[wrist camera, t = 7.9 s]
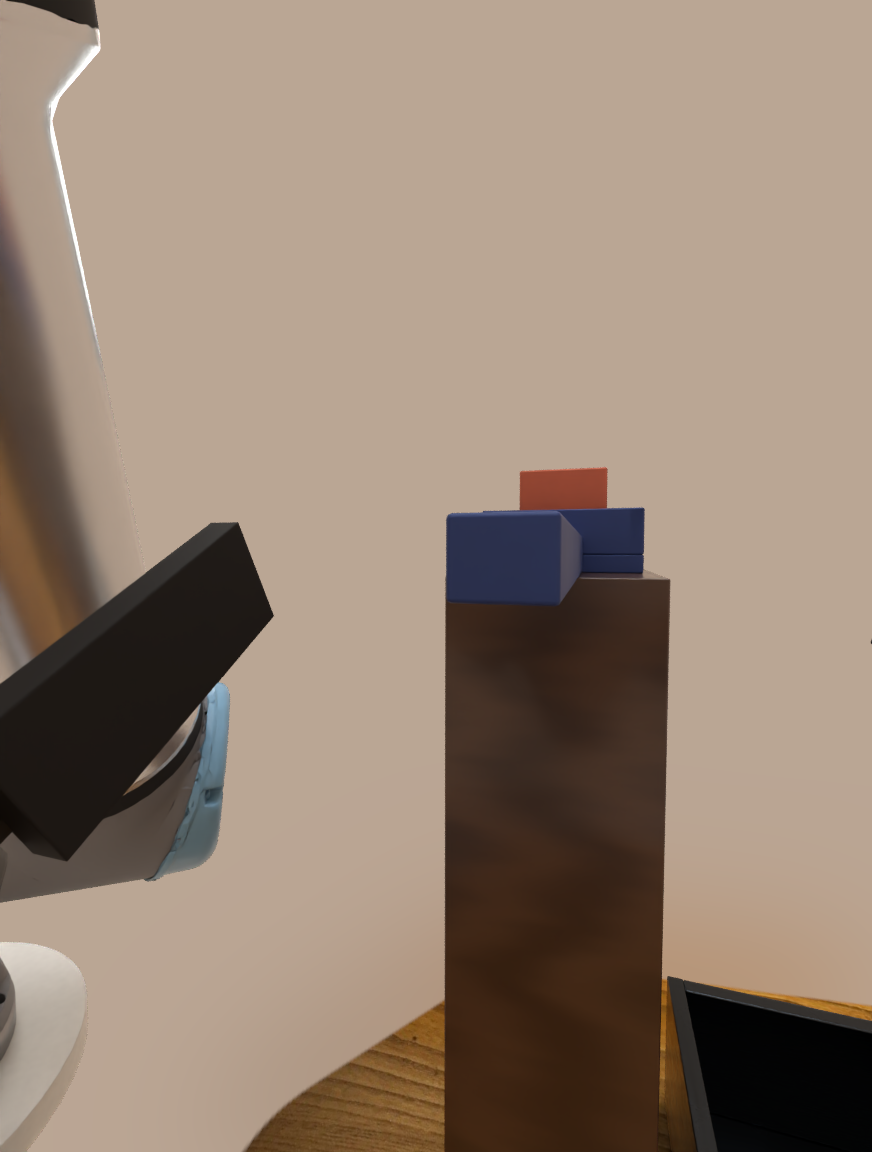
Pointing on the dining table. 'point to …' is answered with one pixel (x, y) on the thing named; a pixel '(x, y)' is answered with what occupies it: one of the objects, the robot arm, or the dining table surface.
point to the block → (563, 489)
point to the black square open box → (764, 1074)
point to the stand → (556, 868)
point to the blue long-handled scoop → (537, 552)
